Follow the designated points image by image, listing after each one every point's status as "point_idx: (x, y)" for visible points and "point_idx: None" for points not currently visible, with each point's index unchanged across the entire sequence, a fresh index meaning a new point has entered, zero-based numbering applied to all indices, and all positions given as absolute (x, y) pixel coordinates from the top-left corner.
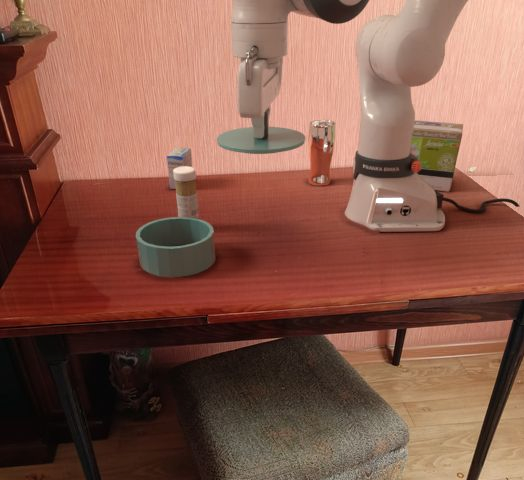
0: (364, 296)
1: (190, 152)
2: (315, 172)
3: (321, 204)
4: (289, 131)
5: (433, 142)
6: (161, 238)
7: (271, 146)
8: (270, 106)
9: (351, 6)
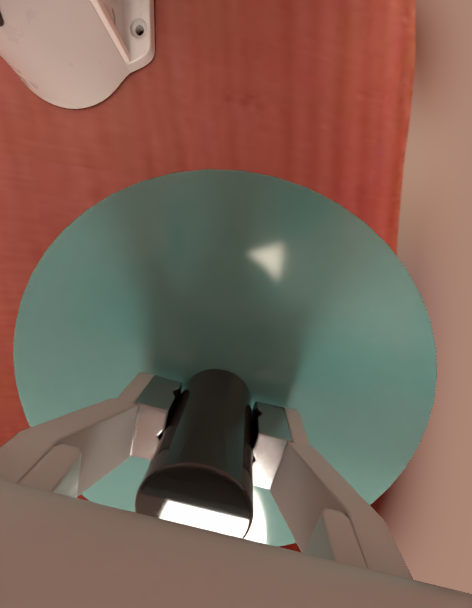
0: (405, 138)
1: None
2: None
3: (12, 152)
4: (107, 251)
5: None
6: None
7: (387, 369)
8: (9, 444)
9: None
